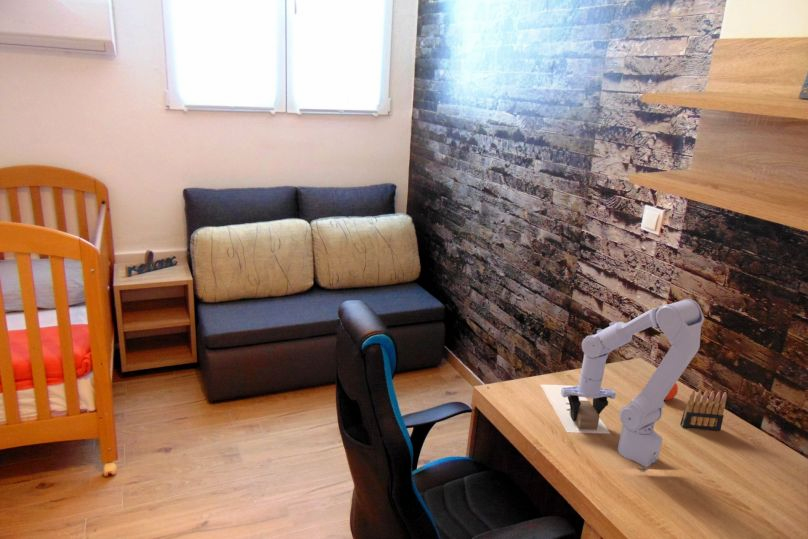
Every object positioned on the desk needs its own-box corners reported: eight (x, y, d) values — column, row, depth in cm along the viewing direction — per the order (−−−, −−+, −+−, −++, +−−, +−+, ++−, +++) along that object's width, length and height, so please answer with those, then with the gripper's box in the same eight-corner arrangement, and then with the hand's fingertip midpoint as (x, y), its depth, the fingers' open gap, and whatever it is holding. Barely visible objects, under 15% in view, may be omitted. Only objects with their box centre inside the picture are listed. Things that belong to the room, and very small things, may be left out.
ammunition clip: (717, 427, 173) (727, 390, 169) (720, 431, 171) (730, 393, 168) (679, 424, 173) (689, 387, 169) (682, 428, 171) (692, 390, 168)
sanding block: (596, 431, 164) (599, 416, 163) (578, 430, 164) (581, 415, 162) (586, 415, 172) (589, 400, 170) (569, 414, 171) (571, 400, 170)
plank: (609, 437, 164) (610, 433, 163) (566, 436, 163) (567, 432, 162) (577, 389, 188) (577, 385, 188) (539, 387, 187) (540, 384, 187)
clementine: (646, 389, 192) (651, 369, 189) (668, 391, 192) (673, 371, 189) (655, 402, 184) (660, 382, 182) (678, 404, 184) (683, 384, 182)
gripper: (611, 369, 168) (603, 412, 172) (560, 367, 166) (553, 411, 171) (622, 382, 161) (612, 426, 165) (569, 380, 160) (561, 425, 164)
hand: (583, 419), depth 167 cm, fingers closed on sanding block, 5 cm apart
